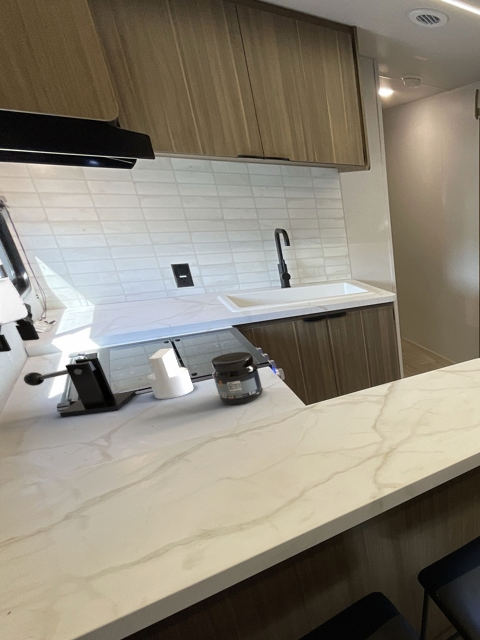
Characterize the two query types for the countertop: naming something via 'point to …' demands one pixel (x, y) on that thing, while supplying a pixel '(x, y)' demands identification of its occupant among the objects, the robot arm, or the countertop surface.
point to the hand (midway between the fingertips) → (17, 345)
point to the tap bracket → (93, 390)
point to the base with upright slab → (168, 375)
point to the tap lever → (46, 376)
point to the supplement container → (236, 378)
